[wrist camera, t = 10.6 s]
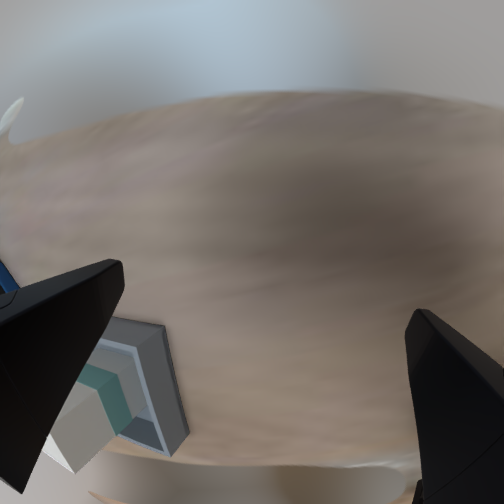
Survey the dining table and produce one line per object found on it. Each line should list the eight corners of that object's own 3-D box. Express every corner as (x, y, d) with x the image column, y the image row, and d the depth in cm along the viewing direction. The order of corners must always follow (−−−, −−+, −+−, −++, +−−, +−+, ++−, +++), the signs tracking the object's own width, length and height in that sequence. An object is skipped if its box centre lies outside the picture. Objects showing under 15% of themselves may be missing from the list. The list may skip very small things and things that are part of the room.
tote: (164, 326, 26) (136, 347, 22) (189, 433, 29) (170, 457, 25) (41, 301, 33) (17, 311, 29) (69, 387, 35) (50, 400, 32)
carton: (137, 358, 27) (47, 428, 16) (150, 402, 29) (75, 474, 18) (98, 347, 29) (13, 403, 18) (111, 389, 30) (39, 448, 20)
